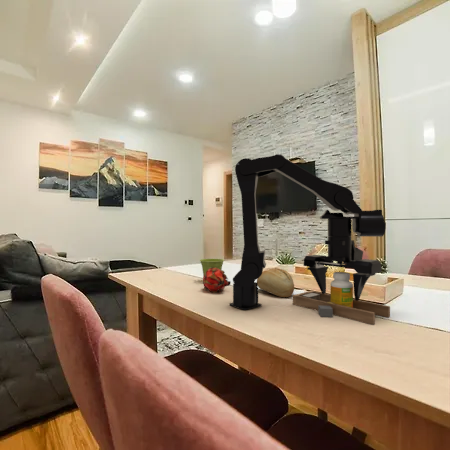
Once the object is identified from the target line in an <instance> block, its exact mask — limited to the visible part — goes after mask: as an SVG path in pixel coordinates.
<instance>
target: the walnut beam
mask: <svg viewBox="0 0 450 450" xmlns="http://www.w3.org/2000/svg"><path fill="white" fill-rule="evenodd" d="M310 293H315V294H320V300H316V299H312V298H308V297H303V296H302V295H306V294H310ZM292 305H295V306H299V307H302V308H307V309H310V310H314V311H317V312H318V305H320V306H331V308H332V309H333V316H337V317H341V318H345V319H349V320H352V321H357V322H361V323H365V324H368V325H372V326H373V325H375V324H376V320H375V319H376V317H375V316H380V317H384V318H390V317H391V306H390V305H386V304H380V303H376V302H375V303H374V302H370V301H365V300H361V299H359V300H358V301H356V300H355V298H353V308H352V307H347V306H343V305H339V304H335V303H333V302H331V293H325V294H322V292H321V291H315V290H308V291H304V292H300V293H296V294H292Z"/></svg>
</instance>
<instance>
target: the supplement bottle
mask: <svg viewBox="0 0 450 450" xmlns="http://www.w3.org/2000/svg"><path fill="white" fill-rule="evenodd" d="M332 277H333V280H331V282H330V294H331V302H333V303H335V304H339V305H343V306H347V307H352V308H353V299H354V283H353V282H351V281H350V278H351V275H350V272H345V271H344V272H343V271H334V272H333V275H332Z"/></svg>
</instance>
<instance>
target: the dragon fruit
mask: <svg viewBox="0 0 450 450" xmlns="http://www.w3.org/2000/svg"><path fill="white" fill-rule="evenodd" d="M228 280H229V278H228V276H227V275H226V274H225V270H220V269H218V268H214V267H211V268H209V269H208V270H207V271H206V272H205V273H204V275H203V276H202V282H203V287H204V289H205V290H209V291H210V292H211V293H213V294H216V293H218V291H224V289H225V287H229V286H230V285H231V283H232V282H231V280H230V281H228Z"/></svg>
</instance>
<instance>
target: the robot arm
mask: <svg viewBox="0 0 450 450" xmlns="http://www.w3.org/2000/svg"><path fill="white" fill-rule="evenodd" d="M234 170H235V176H236V181H237V184H238V187H239V191H240V195H241V212H242V227H243V231H242V232H243V244H244V245H243V250H242V255H241V256H242V257H241V264H240V269H239V271H238V272H236V274H235V275H234V276H233V277H232V282H233V284H232V294H233V295H232V300H233V301H232V302H230V303H229V306H231V307H234V308H237V309H240V310H243V311H246V310H251V309H256V308H259V307H262V306H263V305H262V303H259V287H258V285H257V279H258V278H259V277H260V276H261V274H262V272H264V269H265V268H266V266H267V263H266V260H265V255H266V250H264V249H263V250H261V249H260V246H259V245H260V244H259V236H258V234H259V233H258V231H259V230H258V221H257V220H258V218H257V199H256V197H257V196H256V194H257V193H256V192H257V187H258V180H259V178H260V177H261V178H262V177H265V176H268V175H270V174H273V173H279V174H280V175H282V176H284V177H286V178H288V179H289V180H291V181H292V182H294V183H296V184H298V185H299V186H301V187H302V188H305V189H306V190H308V191H309V192H311V193H312V194H314V196H316V197H317V198H318V199H319V200H320V202H322V203H323V204H324V205H325V206H327V207H328V208H329V209H330V210H333V211H336V212H331V211H330V210H329V209H326V210H325V211H324V213H323V214H322V215H320V217H319V219H320V220H327V239H326V240H324V245H327V255H321V254H311V255H305V256H304V259H303V266H304V267H307V270H308V271H310V272H311V274H312V276H313V278H314V281H316V284H317V285H318V288H319V290H320V292H321V293H322V294H325V293H326V292H327V272H328V268H329V267H335V268H346V269H353V270H354V271H355V272H356V273H353V274H352V281H353V282H352V283H353V297H354V299H355V300H356V301H358V300H360V298H361V295H362V293H363V290H364V289H365V285H366V283H367V281H368V280H369V278H370V277H373V276H375V275H376V274H378V273H382V264H381V262H380V261H379V260H377V259H367V258H366V259H365V258H364V259H363V255H364V251H363V250H361V249H360V248H359V247H356V245H355V240H352V232H353V233H356V235H357V237H371V238H372V237H376V238H377V237H384V235H385V233H386V229H387V227H386V226H387V225H386V222H385V217H384V215H383V210H382V209H372V210H363V209H362V208H361V207H360V206H359V204H358V203H357V202H356V201H355V200H354V195H353V192H352V190H351V189H349V187H345V186H343V185H340V184H338V183H335V182H331V181H328V180H324V179H322V178H320V177H318V176H317V175H315V174H314V173H312V172H310V171H308V170H307V169H304V168H303V167H301V166H299V165H298V164H296V163H294V162H293V161H291V160H289V159H288V158H286V157H285V156H284V155H283V154H279V153H277V154H273V155H269V156H264V157H256V158H254V159H251V158H246V157H245V158H243V159H240V160H238V162H237V163H236V164H235V166H234ZM337 211H340V212H337ZM344 214H345V215H354V216H344ZM255 281H256V282H255ZM326 294H327V293H326Z"/></svg>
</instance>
